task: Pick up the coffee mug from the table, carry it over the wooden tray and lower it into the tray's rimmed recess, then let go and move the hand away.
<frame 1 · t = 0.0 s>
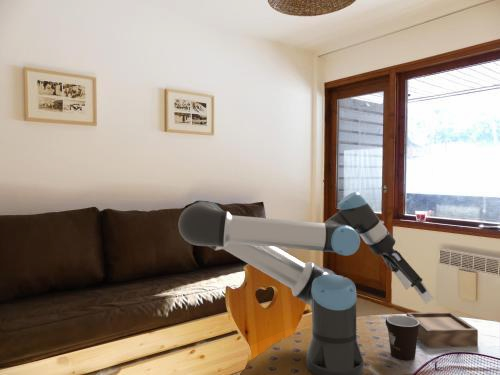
hand: (419, 293, 116), 15 cm above the table, tool tilted 35°, fingers open, 13 cm apart
coffee mug: (401, 353, 110), on the table
wooden tray: (440, 336, 121), on the table
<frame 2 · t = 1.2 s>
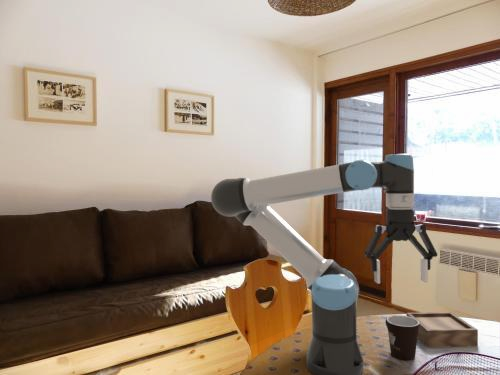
hand: (400, 281, 110), 21 cm above the table, tool pointing down, fingers open, 13 cm apart
nothing on the table moved.
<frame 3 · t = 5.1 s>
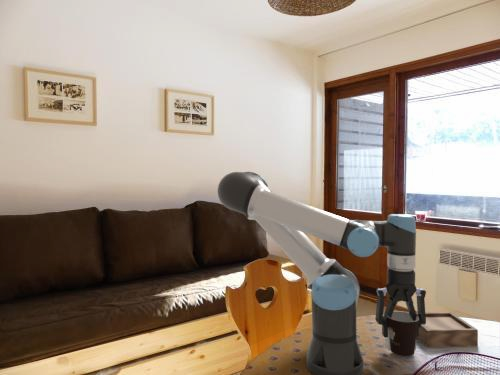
hand: (400, 347, 110), 2 cm above the table, tool pointing down, fingers closed on coffee mug, 6 cm apart
coffee mug: (401, 349, 110), point 1 cm above the table, touching gripper
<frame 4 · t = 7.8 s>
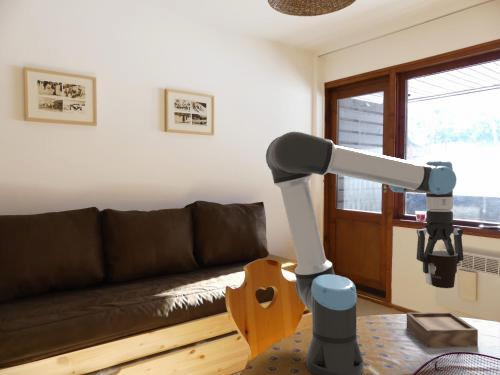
hand: (439, 283, 121), 17 cm above the table, tool pointing down, fingers closed on coffee mug, 6 cm apart
coffee mug: (441, 284, 121), point 17 cm above the table, touching gripper
when the fingers open (5 cm above the table, at t = 10.7 s): coffee mug drops 1 cm, resting on wooden tray.
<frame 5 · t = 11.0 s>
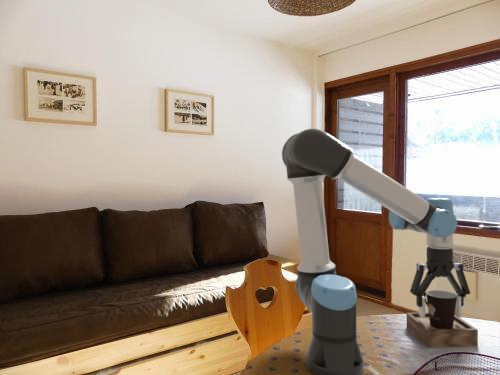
hand: (439, 316, 121), 6 cm above the table, tool pointing down, fingers open, 10 cm apart
coffee mug: (440, 324, 121), point 4 cm above the table, touching wooden tray
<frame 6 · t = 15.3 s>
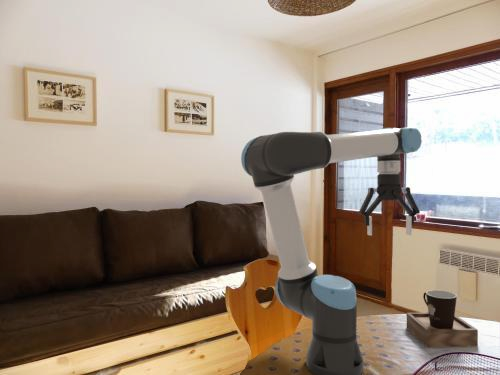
hand: (389, 234, 132), 31 cm above the table, tool pointing down, fingers open, 13 cm apart
nothing on the table moved.
at the end: coffee mug 0.1 cm off-centre on the wooden tray, point 3.8 cm above the wooden tray's base; coffee mug tilted 0°; the gripper is holding nothing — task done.
